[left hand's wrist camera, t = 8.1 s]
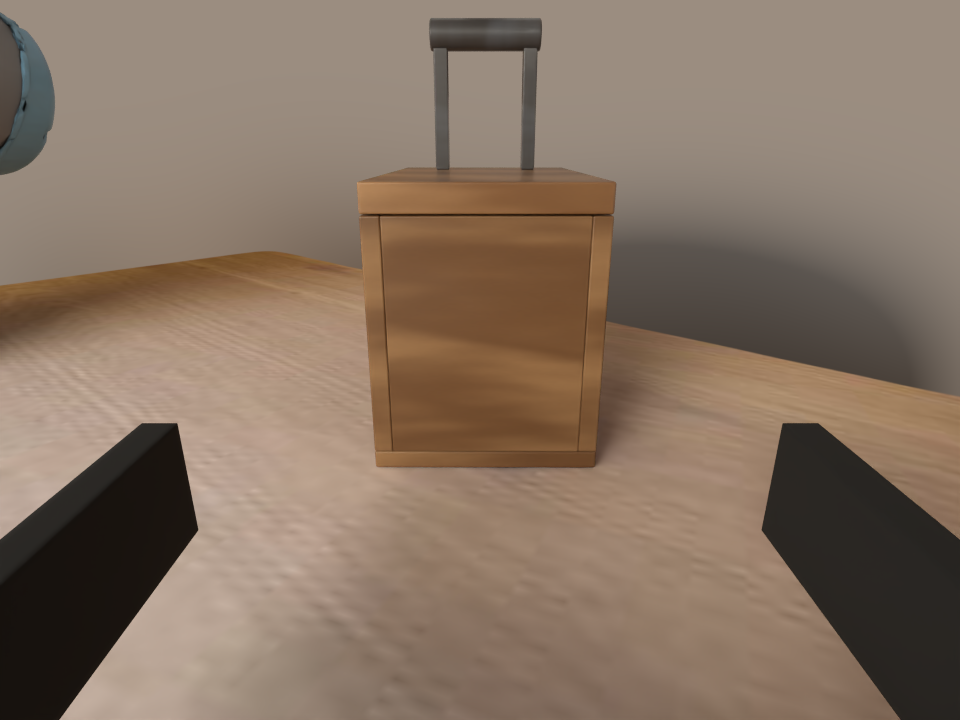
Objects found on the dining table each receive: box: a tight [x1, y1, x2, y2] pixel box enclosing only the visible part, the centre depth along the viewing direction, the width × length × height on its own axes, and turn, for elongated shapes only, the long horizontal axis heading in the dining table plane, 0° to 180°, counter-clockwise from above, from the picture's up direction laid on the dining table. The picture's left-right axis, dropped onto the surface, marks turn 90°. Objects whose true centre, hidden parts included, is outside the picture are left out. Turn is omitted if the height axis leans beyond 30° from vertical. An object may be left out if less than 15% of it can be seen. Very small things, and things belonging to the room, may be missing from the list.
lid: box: [357, 18, 616, 214], centre depth 27 cm, size 15×9×8 cm, turn 0°
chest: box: [359, 214, 614, 467], centre depth 30 cm, size 14×9×10 cm, turn 0°
